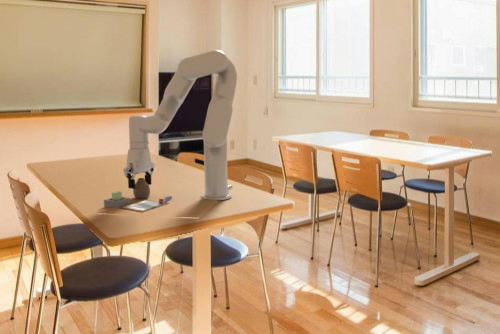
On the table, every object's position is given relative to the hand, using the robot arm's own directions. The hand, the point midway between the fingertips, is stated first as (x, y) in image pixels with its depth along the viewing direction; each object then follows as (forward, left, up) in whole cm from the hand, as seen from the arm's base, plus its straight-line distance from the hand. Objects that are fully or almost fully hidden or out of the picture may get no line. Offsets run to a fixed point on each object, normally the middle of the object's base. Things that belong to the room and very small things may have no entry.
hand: (140, 186), depth 208 cm
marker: (0, +14, -5) cm, 14 cm away
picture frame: (+10, +11, -5) cm, 16 cm away
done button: (+14, 0, -4) cm, 14 cm away
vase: (0, 0, -6) cm, 6 cm away
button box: (+14, 0, -5) cm, 15 cm away
